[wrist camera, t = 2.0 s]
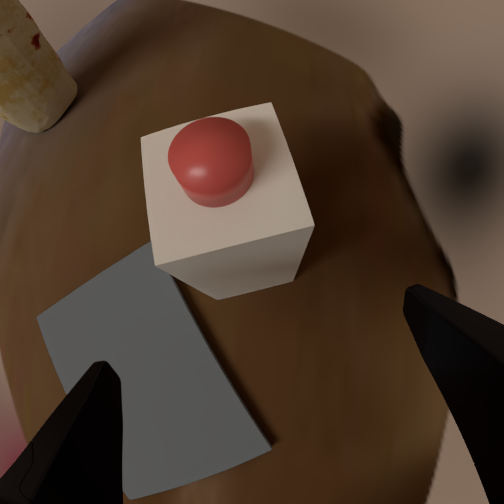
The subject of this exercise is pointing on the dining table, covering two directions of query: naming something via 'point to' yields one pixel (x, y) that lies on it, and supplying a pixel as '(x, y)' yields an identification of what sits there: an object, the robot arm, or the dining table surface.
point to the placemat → (153, 375)
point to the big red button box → (226, 202)
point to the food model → (30, 73)
